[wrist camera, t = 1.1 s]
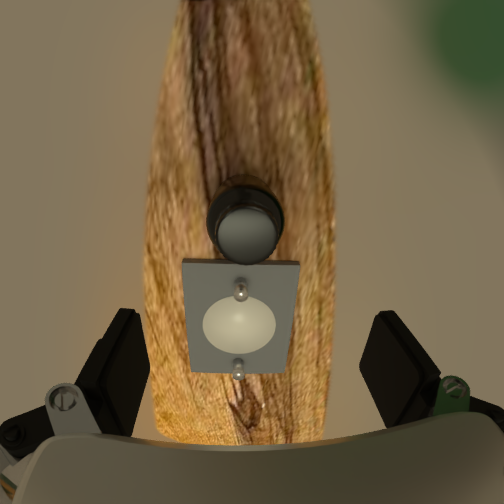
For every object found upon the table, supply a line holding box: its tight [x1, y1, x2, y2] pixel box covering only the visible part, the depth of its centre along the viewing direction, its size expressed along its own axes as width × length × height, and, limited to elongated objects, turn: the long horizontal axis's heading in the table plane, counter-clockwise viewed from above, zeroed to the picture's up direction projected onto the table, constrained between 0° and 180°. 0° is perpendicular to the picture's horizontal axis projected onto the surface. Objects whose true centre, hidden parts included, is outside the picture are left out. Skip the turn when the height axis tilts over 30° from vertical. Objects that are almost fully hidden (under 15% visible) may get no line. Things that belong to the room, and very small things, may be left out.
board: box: [182, 259, 300, 380], centre depth 36 cm, size 18×14×4 cm
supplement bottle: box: [206, 175, 285, 266], centre depth 27 cm, size 7×7×12 cm
